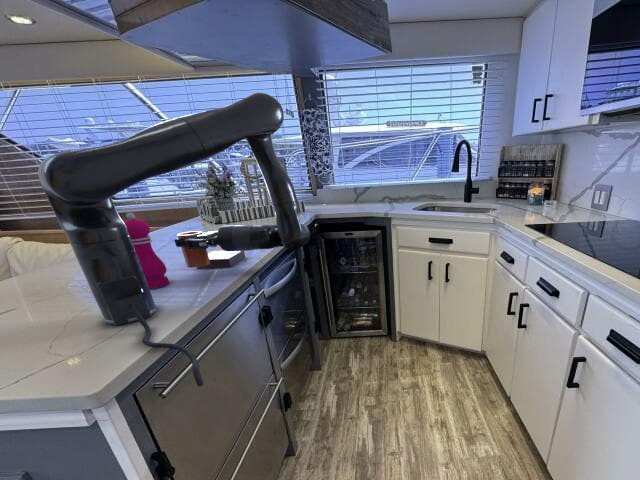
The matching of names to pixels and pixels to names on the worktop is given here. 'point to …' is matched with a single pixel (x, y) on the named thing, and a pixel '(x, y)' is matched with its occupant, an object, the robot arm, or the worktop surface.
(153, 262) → the pepper mill
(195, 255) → the cup
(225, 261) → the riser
